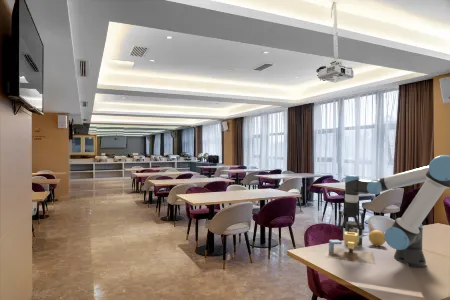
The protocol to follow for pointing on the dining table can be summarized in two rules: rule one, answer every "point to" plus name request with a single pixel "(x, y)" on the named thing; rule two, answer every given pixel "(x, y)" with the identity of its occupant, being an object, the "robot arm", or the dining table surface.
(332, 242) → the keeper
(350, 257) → the board
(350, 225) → the coffee can
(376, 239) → the stress ball
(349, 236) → the link
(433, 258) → the dining table surface
